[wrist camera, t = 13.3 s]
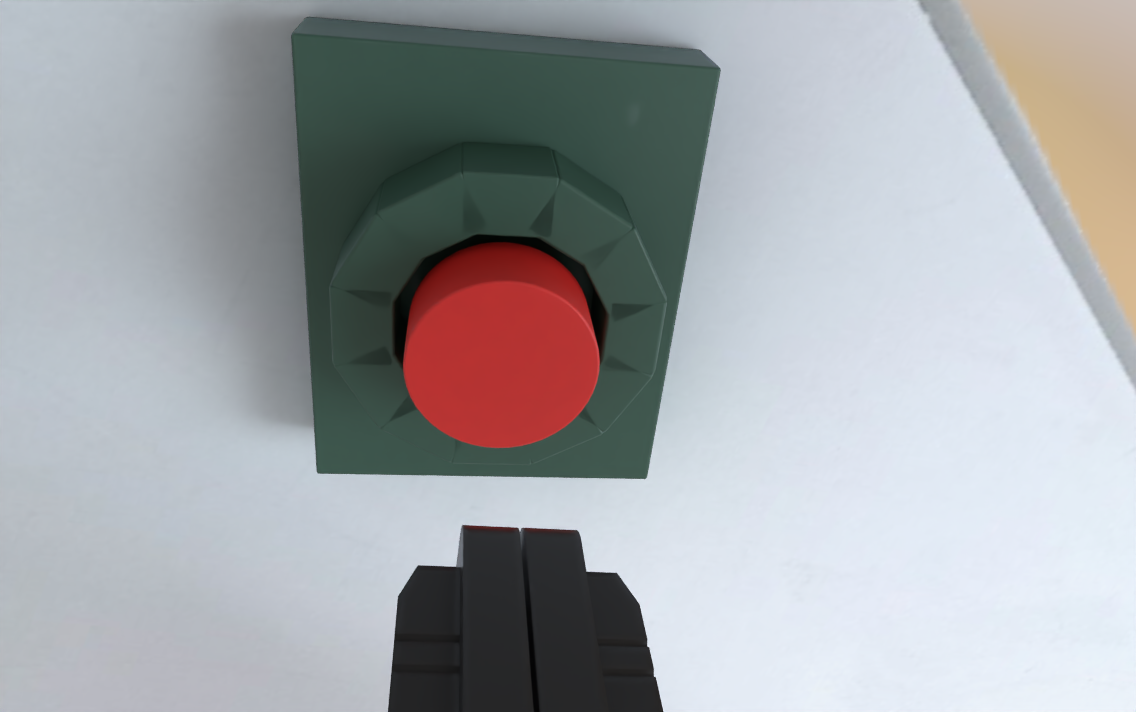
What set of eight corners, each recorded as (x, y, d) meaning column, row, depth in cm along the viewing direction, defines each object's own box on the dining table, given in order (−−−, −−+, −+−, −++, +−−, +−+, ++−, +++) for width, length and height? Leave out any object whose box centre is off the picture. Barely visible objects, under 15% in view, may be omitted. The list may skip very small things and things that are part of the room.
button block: (305, 16, 17) (271, 54, 14) (701, 49, 18) (747, 91, 15) (326, 432, 22) (304, 525, 19) (636, 439, 23) (660, 528, 20)
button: (409, 235, 16) (403, 276, 15) (598, 245, 17) (611, 285, 15) (408, 396, 18) (402, 447, 17) (579, 401, 19) (588, 451, 17)
